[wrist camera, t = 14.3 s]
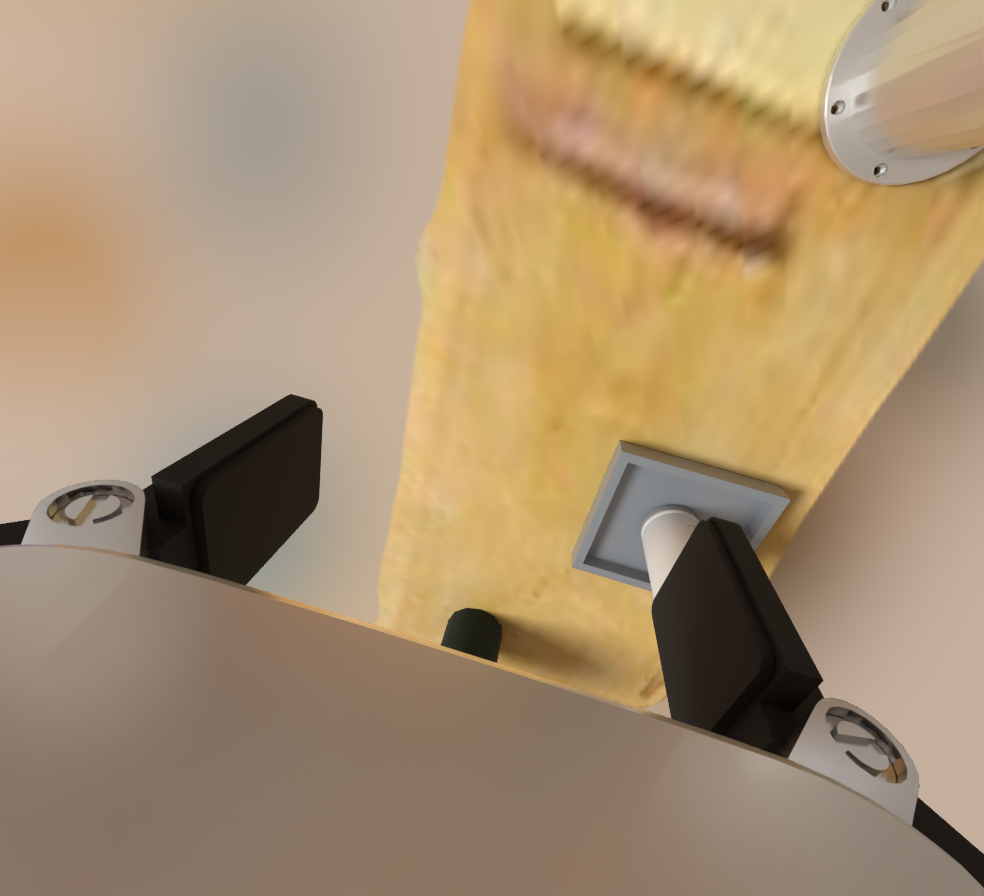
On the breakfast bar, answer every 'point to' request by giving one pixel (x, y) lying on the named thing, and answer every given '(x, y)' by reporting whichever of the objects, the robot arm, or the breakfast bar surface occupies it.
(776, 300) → the breakfast bar surface
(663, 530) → the travel mug
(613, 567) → the tray
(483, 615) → the wine bottle
